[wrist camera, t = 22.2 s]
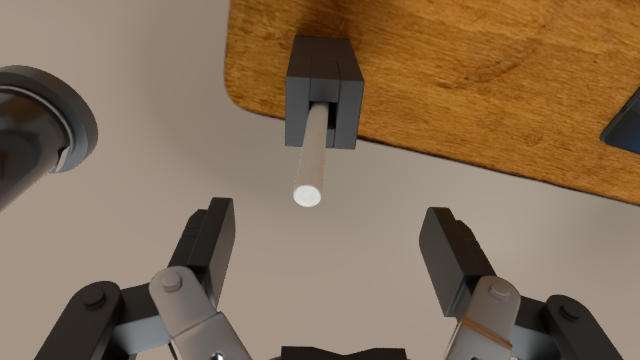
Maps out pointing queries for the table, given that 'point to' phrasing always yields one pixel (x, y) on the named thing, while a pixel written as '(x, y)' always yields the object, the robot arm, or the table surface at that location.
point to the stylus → (312, 156)
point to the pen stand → (323, 89)
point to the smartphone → (625, 127)
